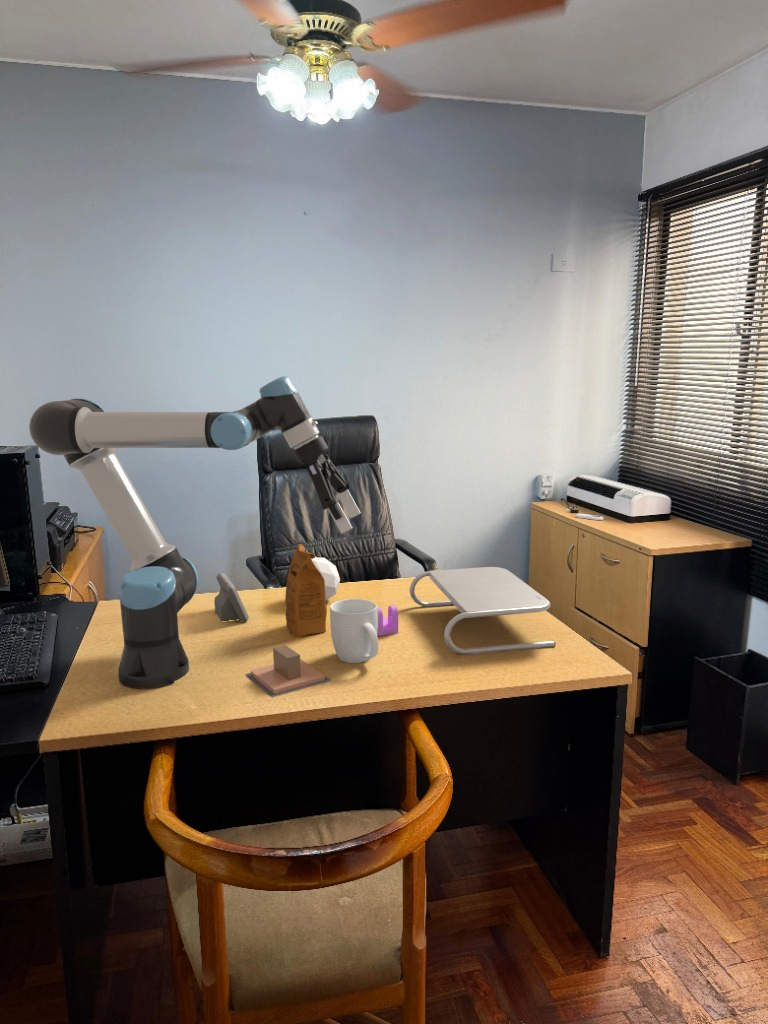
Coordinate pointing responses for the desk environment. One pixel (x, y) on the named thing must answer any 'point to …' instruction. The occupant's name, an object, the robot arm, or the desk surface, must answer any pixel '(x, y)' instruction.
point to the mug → (354, 629)
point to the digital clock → (229, 601)
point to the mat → (284, 691)
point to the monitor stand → (484, 600)
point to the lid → (286, 671)
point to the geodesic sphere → (328, 576)
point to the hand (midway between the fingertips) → (351, 523)
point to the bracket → (387, 621)
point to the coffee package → (305, 596)
